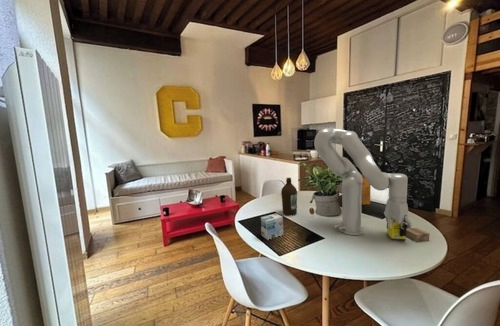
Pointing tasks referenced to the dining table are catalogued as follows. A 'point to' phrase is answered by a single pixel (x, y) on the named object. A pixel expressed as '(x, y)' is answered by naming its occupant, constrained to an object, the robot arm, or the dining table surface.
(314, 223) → the dining table surface
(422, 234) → the walnut block
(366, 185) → the coffee package
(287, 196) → the olive oil
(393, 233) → the supplement box
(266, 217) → the light bulb box
